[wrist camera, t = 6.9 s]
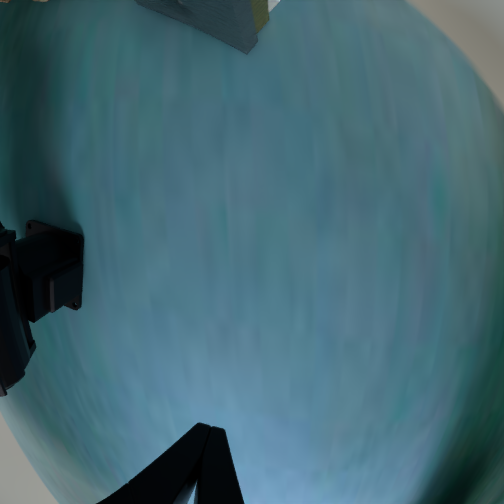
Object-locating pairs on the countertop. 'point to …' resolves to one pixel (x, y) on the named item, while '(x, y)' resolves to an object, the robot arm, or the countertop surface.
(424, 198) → the countertop surface
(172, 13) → the grey piece
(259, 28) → the spacer
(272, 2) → the block
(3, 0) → the rock
